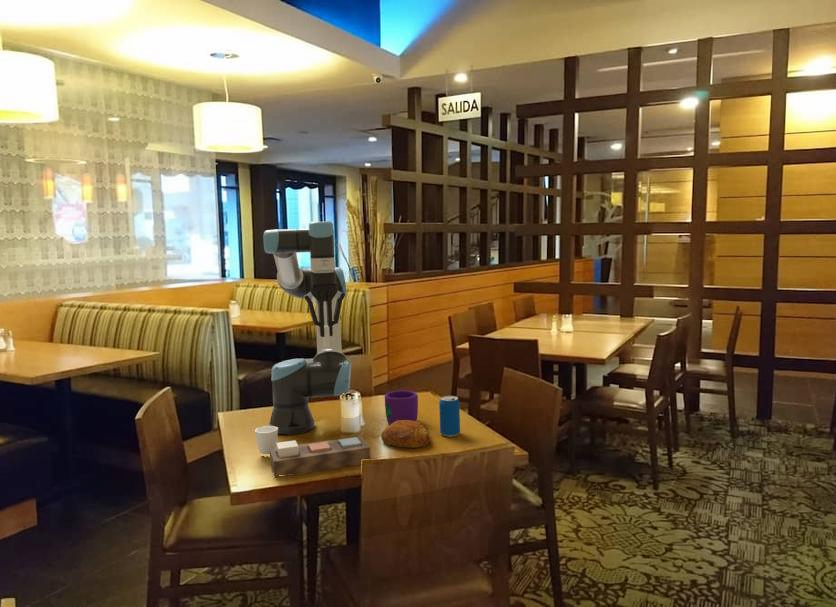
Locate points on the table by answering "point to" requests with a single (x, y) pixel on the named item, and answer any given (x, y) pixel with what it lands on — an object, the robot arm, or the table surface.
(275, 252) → the robot arm
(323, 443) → the terracotta key
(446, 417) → the beverage can
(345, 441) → the slate key
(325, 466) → the key block
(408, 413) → the mug
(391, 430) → the pastry
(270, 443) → the cup
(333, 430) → the table surface
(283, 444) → the ivory key
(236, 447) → the table surface
